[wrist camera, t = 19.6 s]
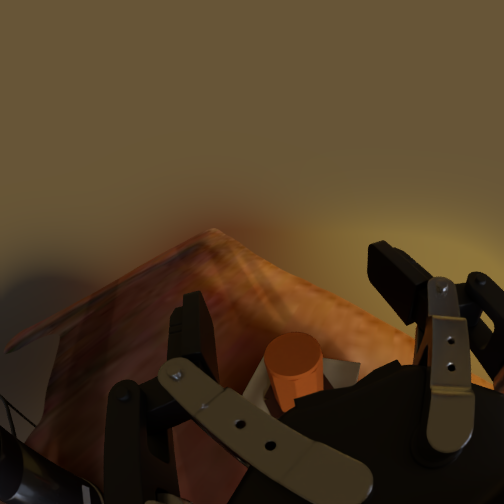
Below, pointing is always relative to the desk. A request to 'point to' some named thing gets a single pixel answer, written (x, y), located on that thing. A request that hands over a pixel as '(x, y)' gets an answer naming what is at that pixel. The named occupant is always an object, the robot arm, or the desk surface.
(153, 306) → the desk surface
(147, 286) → the desk surface
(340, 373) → the grey stone tile
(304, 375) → the hat
